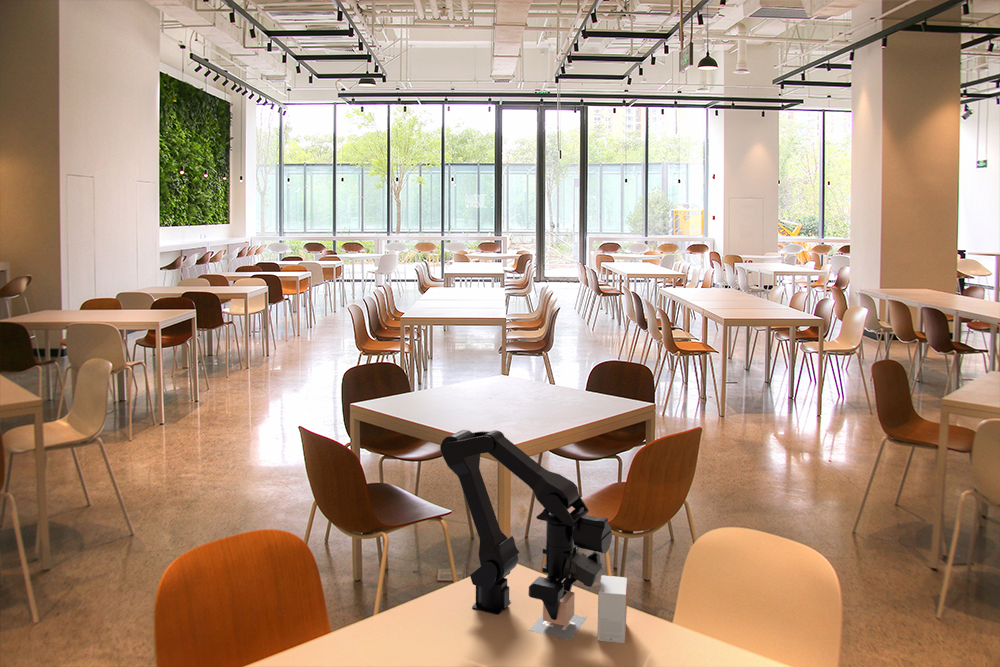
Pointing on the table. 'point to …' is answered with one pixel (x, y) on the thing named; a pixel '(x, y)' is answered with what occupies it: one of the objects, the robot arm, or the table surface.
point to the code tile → (558, 627)
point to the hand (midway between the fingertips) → (558, 613)
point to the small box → (612, 609)
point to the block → (562, 610)
